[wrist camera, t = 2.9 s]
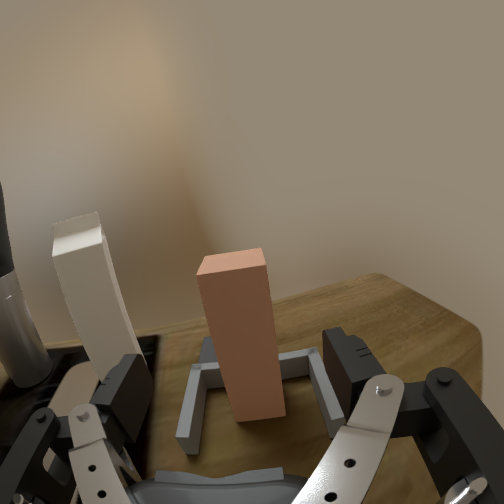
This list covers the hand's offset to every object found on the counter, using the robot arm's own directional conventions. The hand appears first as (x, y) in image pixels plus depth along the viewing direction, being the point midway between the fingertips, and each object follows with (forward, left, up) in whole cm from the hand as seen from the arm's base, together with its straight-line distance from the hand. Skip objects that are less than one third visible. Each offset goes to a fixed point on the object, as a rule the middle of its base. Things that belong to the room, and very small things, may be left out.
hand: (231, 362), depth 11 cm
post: (0, +11, -15) cm, 19 cm away
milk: (-17, +16, -15) cm, 28 cm away
